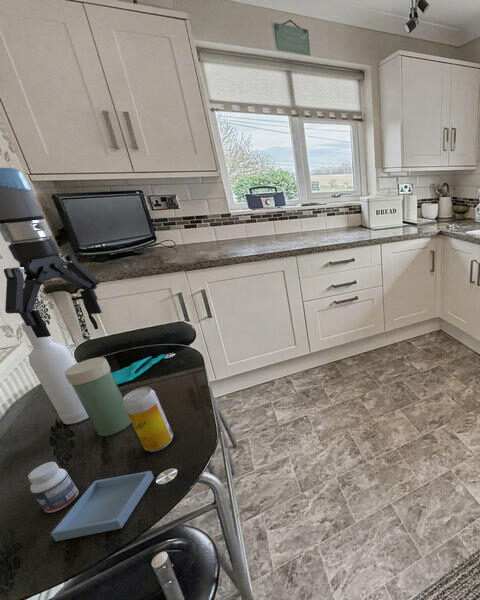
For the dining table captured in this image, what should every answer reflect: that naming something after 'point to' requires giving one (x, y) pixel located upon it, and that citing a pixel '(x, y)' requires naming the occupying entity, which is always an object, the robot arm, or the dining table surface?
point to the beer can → (148, 418)
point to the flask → (103, 404)
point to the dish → (104, 506)
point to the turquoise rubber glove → (135, 369)
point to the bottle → (55, 376)
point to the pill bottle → (52, 487)
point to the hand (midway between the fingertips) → (72, 324)
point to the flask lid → (87, 371)
